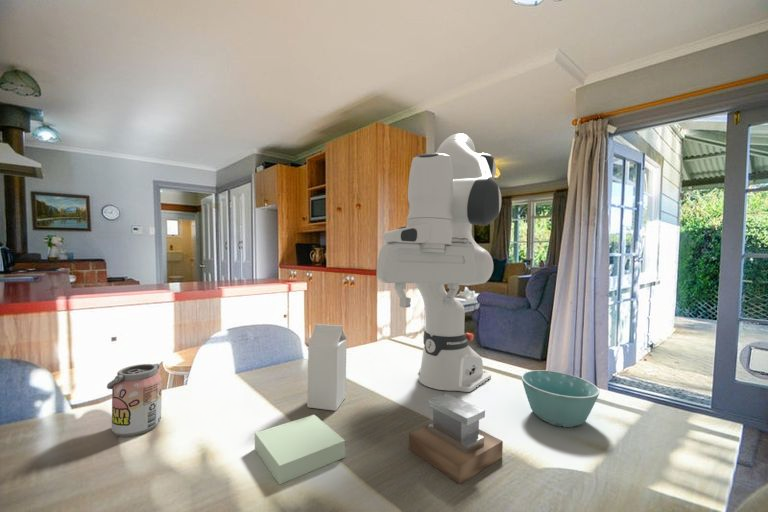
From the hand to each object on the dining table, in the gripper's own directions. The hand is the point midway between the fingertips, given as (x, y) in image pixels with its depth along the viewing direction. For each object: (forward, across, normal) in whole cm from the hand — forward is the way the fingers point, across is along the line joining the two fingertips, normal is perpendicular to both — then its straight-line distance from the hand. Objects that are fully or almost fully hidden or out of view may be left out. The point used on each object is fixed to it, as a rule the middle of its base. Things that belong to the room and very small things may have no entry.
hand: (426, 306), depth 66 cm
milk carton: (+26, +14, -23) cm, 38 cm away
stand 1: (+27, +23, -5) cm, 36 cm away
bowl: (+26, -34, +1) cm, 43 cm away
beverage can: (+27, +53, -25) cm, 65 cm away
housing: (+24, -4, +5) cm, 24 cm away
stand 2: (+26, -4, +5) cm, 27 cm away
